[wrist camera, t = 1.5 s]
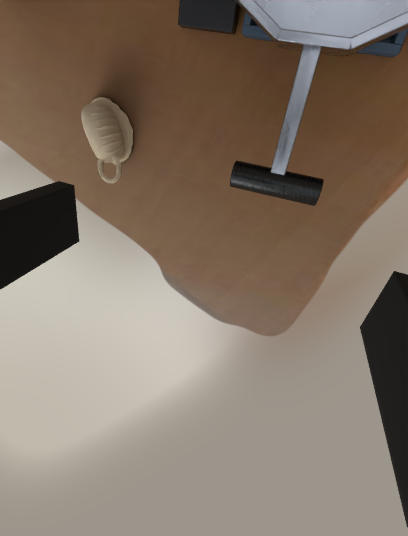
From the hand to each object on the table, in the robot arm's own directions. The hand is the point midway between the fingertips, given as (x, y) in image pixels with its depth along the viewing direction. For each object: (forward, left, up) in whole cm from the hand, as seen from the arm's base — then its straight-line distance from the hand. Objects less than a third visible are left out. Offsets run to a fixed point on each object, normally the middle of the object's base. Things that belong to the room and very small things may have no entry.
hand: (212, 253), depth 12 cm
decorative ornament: (+1, -18, -22) cm, 28 cm away
